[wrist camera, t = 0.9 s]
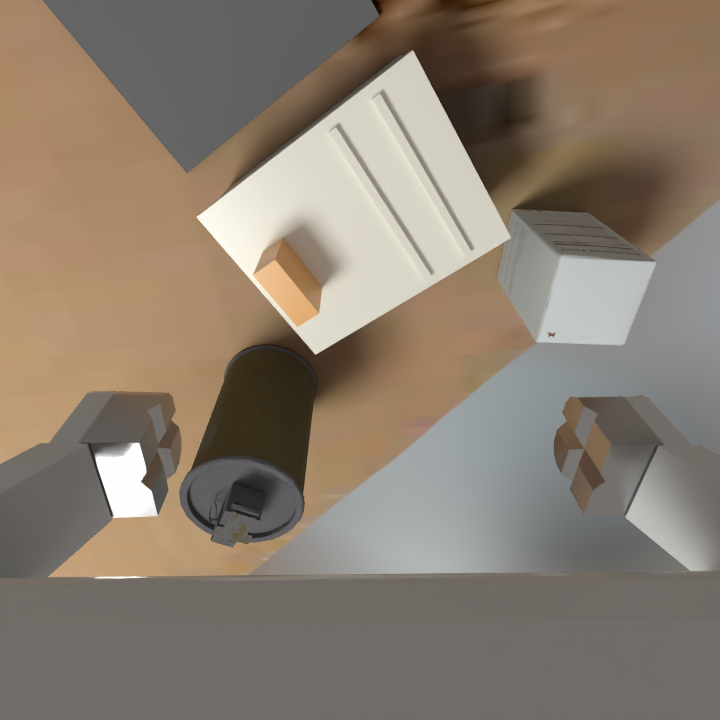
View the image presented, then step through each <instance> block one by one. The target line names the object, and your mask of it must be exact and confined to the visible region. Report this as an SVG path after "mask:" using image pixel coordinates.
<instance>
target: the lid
mask: <svg viewBox="0 0 720 720" xmlns="http://www.w3.org/2000/svg"><path fill="white" fill-rule="evenodd" d="M197 218H198V219H199V221H200V222H201V223H202V224H203V225H204V226H205V227H206V229H207V230H208V231H209V232H210V233H211V234H212V236H213V237H214V238H215V239H216V240H217V241H218V242H219V244H220V245H221V246H222V247H223V248H224V249H225V251H226V252H227V253H228V254H229V255H230V256H231V258H232V259H233V260H234V261H235V262H236V263H237V264H238V266H239V267H240V268H241V269H242V270H243V271H244V273H245V274H246V275H247V276H248V277H249V278H250V279H251V281H252V282H253V283H254V284H255V285H256V286H257V288H258V289H259V290H260V291H261V292H262V293H263V295H264V296H265V297H266V298H267V299H268V300H269V301H270V303H271V304H272V305H273V306H274V307H275V308H276V310H277V311H278V312H279V313H280V314H281V315H282V317H283V318H284V319H285V320H286V321H287V322H288V323H289V325H290V326H291V327H292V328H293V329H294V330H295V332H296V333H297V334H298V335H299V336H300V337H301V338H302V340H303V341H304V342H305V343H306V344H307V345H308V347H309V348H310V349H311V350H312V351H313V352H314V354H315V355H316V354H318V353H319V352H321V351H323V350H324V349H326V348H328V347H329V346H331V345H333V344H334V343H336V342H338V341H339V340H341V339H343V338H344V337H346V336H348V335H349V334H351V333H353V332H354V331H356V330H358V329H359V328H361V327H363V326H364V325H366V324H368V323H369V322H371V321H373V320H375V319H376V318H378V317H380V316H381V315H383V314H385V313H386V312H388V311H390V310H391V309H393V308H395V307H396V306H398V305H400V304H401V303H403V302H405V301H406V300H408V299H410V298H411V297H413V296H415V295H416V294H418V293H420V292H421V291H423V290H425V289H426V288H428V287H430V286H431V285H433V284H435V283H436V282H438V281H440V280H441V279H443V278H445V277H447V276H448V275H450V274H452V273H453V272H455V271H457V270H458V269H460V268H462V267H463V266H465V265H467V264H468V263H470V262H472V261H473V260H475V259H477V258H478V257H480V256H482V255H483V254H485V253H487V252H488V251H490V250H492V249H493V248H495V247H497V246H498V245H500V244H502V243H503V242H505V241H507V240H508V239H510V238H511V237H510V235H509V233H508V231H507V229H506V227H505V225H504V223H503V221H502V219H501V217H500V216H499V214H498V212H497V210H496V208H495V206H494V204H493V202H492V200H491V198H490V196H489V195H488V193H487V191H486V189H485V187H484V185H483V183H482V181H481V179H480V177H479V175H478V174H477V172H476V170H475V168H474V166H473V164H472V162H471V160H470V158H469V156H468V154H467V153H466V151H465V149H464V147H463V145H462V143H461V141H460V139H459V137H458V135H457V133H456V131H455V130H454V128H453V126H452V124H451V122H450V120H449V118H448V116H447V114H446V112H445V110H444V109H443V107H442V105H441V103H440V101H439V99H438V97H437V95H436V93H435V91H434V89H433V88H432V86H431V84H430V82H429V80H428V78H427V76H426V74H425V72H424V70H423V68H422V66H421V65H420V63H419V61H418V59H417V57H416V55H415V53H414V51H413V50H411V51H409V52H408V53H407V54H405V55H404V56H403V57H402V58H400V59H399V60H398V61H396V62H395V63H394V64H393V65H391V66H390V67H389V68H387V69H386V70H385V71H383V72H382V73H381V74H380V75H378V76H377V77H376V78H374V79H373V80H372V81H370V82H369V83H368V84H367V85H365V86H364V87H363V88H361V89H360V90H359V91H358V92H356V93H355V94H354V95H352V96H351V97H350V98H348V99H347V100H346V101H345V102H343V103H342V104H341V105H339V106H338V107H337V108H336V109H334V110H333V111H332V112H330V113H329V114H328V115H326V116H325V117H324V118H323V119H321V120H320V121H319V122H317V123H316V124H315V125H313V126H312V127H311V128H310V129H308V130H307V131H306V132H304V133H303V134H302V135H301V136H299V137H298V138H297V139H295V140H294V141H293V142H291V143H290V144H289V145H288V146H286V147H285V148H284V149H282V150H281V151H280V152H278V153H277V154H276V155H275V156H273V157H272V158H271V159H269V160H268V161H267V162H266V163H264V164H263V165H262V166H260V167H259V168H258V169H256V170H255V171H254V172H253V173H251V174H250V175H249V176H247V177H246V178H245V179H244V180H242V181H241V182H240V183H238V184H237V185H236V186H234V187H233V188H232V189H231V190H229V191H228V192H227V193H225V194H224V195H223V196H221V197H220V198H219V199H218V200H216V201H215V202H214V203H212V204H211V205H210V206H209V207H207V208H206V209H205V210H203V211H202V212H201V213H200V214H199V215H198V216H197Z"/></svg>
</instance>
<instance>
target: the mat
mask: <svg viewBox="0 0 720 720" xmlns="http://www.w3.org/2000/svg"><path fill="white" fill-rule="evenodd" d="M43 1H44V2H45V4H46V5H47V6H48V7H49V8H50V10H51V11H52V12H53V13H54V14H55V15H56V17H57V18H58V19H59V20H60V21H61V23H62V24H63V25H64V26H65V27H66V29H67V30H68V31H69V32H70V33H71V35H72V36H73V37H74V38H75V39H76V41H77V42H78V43H79V44H80V45H81V47H82V48H83V49H84V50H85V51H86V53H87V54H88V55H89V56H90V57H91V59H92V60H93V61H94V62H95V63H96V65H97V66H98V67H99V68H100V69H101V71H102V72H103V73H104V74H105V75H106V77H107V78H108V79H109V80H110V81H111V83H112V84H113V85H114V86H115V87H116V89H117V90H118V91H119V92H120V93H121V95H122V96H123V97H124V98H125V99H126V101H127V102H128V103H129V104H130V105H131V107H132V108H133V109H134V110H135V111H136V113H137V114H138V115H139V116H140V117H141V119H142V120H143V121H144V122H145V123H146V125H147V126H148V127H149V128H150V129H151V131H152V132H153V133H154V134H155V135H156V137H157V138H158V139H159V140H160V141H161V143H162V144H163V145H164V146H165V147H166V149H167V150H168V151H169V152H170V153H171V155H172V156H173V157H174V158H175V159H176V161H177V162H178V163H179V164H180V165H181V167H182V168H183V169H184V170H185V171H186V173H187V172H189V171H190V170H191V169H192V168H193V167H195V166H196V165H197V164H198V163H200V162H201V161H202V160H203V159H205V158H206V157H207V156H208V155H209V154H211V153H212V152H213V151H214V150H216V149H217V148H218V147H219V146H220V145H222V144H223V143H224V142H225V141H227V140H228V139H229V138H230V137H232V136H233V135H234V134H235V133H236V132H238V131H239V130H240V129H241V128H243V127H244V126H245V125H246V124H248V123H249V122H250V121H251V120H252V119H254V118H255V117H256V116H257V115H259V114H260V113H261V112H262V111H263V110H265V109H266V108H267V107H268V106H270V105H271V104H272V103H273V102H275V101H276V100H277V99H278V98H279V97H281V96H282V95H283V94H284V93H286V92H287V91H288V90H289V89H291V88H292V87H293V86H294V85H295V84H297V83H298V82H299V81H300V80H302V79H303V78H304V77H305V76H306V75H308V74H309V73H310V72H311V71H313V70H314V69H315V68H316V67H318V66H319V65H320V64H321V63H322V62H324V61H325V60H326V59H327V58H329V57H330V56H331V55H332V54H334V53H335V52H336V51H337V50H338V49H340V48H341V47H342V46H343V45H345V44H346V43H347V42H348V41H349V40H351V39H352V38H353V37H354V36H356V35H357V34H358V33H359V32H361V31H362V30H363V29H364V28H365V27H367V26H368V25H369V24H370V23H372V22H373V21H374V20H375V19H377V18H378V17H379V14H378V12H377V10H376V8H375V6H374V4H373V3H372V1H371V0H43Z"/></svg>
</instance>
